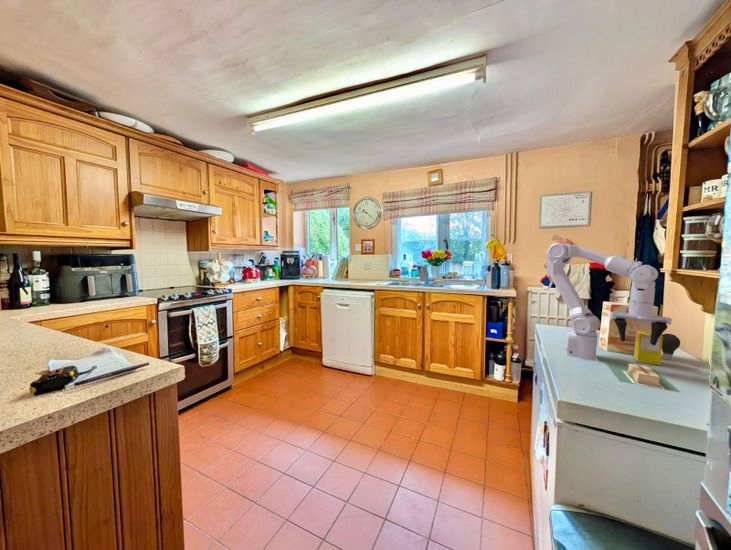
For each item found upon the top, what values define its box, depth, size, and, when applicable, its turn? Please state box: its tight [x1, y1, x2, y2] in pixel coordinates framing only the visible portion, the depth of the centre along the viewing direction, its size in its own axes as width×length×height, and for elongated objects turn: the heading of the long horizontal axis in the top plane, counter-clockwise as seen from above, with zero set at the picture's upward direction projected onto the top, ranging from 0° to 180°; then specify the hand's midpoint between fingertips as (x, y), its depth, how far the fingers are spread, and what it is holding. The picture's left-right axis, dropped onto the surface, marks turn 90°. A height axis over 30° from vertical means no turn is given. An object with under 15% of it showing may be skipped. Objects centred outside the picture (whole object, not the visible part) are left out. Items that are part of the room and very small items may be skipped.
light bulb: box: [661, 333, 681, 361], centre depth 106 cm, size 6×6×10 cm
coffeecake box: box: [598, 301, 659, 356], centre depth 114 cm, size 15×7×20 cm, turn 73°
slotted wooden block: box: [628, 363, 660, 387], centre depth 88 cm, size 9×4×3 cm, turn 152°
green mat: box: [604, 361, 681, 393], centre depth 91 cm, size 13×18×1 cm
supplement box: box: [633, 331, 663, 367], centre depth 103 cm, size 6×6×11 cm
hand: (637, 342), depth 96 cm, fingers open, 7 cm apart
